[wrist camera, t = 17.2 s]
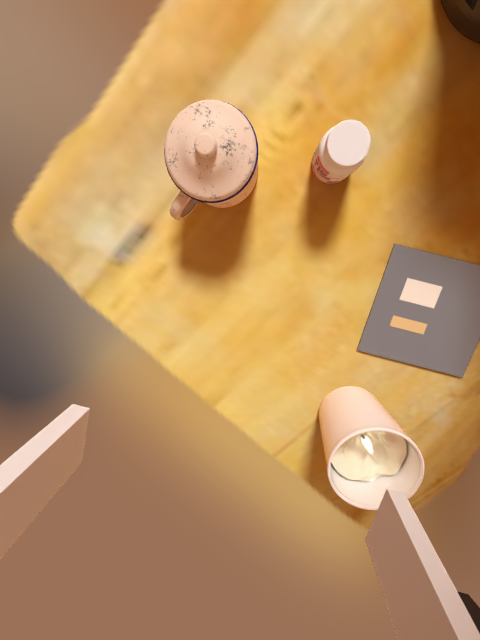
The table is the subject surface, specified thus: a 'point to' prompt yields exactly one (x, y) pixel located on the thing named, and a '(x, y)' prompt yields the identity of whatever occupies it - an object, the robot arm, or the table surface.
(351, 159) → the pill bottle
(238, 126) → the teacup with lid
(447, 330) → the gray tile
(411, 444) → the candle holder
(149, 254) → the table surface
